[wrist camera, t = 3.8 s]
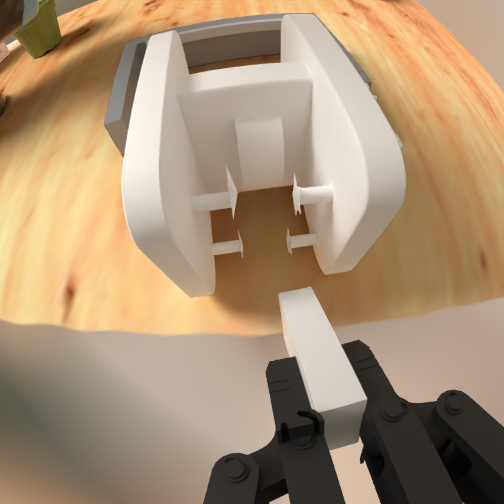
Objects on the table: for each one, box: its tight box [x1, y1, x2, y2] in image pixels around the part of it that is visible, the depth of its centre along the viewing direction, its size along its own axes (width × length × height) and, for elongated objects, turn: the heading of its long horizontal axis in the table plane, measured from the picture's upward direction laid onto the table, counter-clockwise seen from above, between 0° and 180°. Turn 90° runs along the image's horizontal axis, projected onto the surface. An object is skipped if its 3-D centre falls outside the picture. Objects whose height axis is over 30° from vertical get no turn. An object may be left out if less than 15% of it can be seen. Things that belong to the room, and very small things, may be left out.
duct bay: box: [104, 13, 371, 158], centre depth 24 cm, size 14×21×5 cm
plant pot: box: [13, 0, 61, 58], centre depth 33 cm, size 12×12×11 cm
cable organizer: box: [122, 14, 406, 298], centre depth 16 cm, size 15×11×12 cm
